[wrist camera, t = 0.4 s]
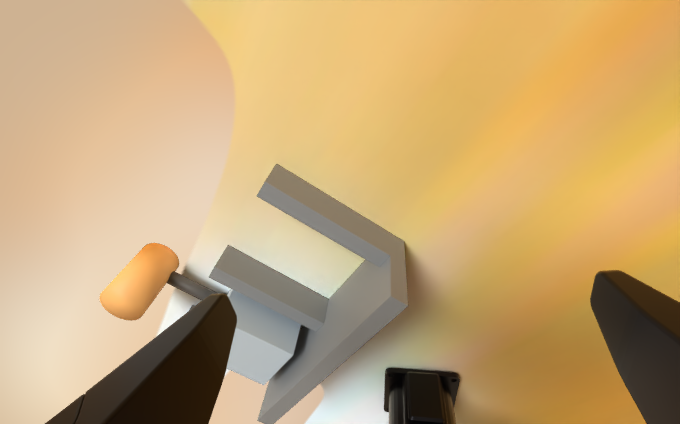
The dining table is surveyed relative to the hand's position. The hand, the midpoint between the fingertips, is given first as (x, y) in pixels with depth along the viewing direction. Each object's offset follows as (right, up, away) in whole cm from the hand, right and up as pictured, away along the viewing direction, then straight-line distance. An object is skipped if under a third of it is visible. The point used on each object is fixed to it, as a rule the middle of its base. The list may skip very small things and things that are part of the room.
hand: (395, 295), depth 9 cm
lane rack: (-6, -3, +19) cm, 21 cm away
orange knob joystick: (-11, -4, +21) cm, 24 cm away
